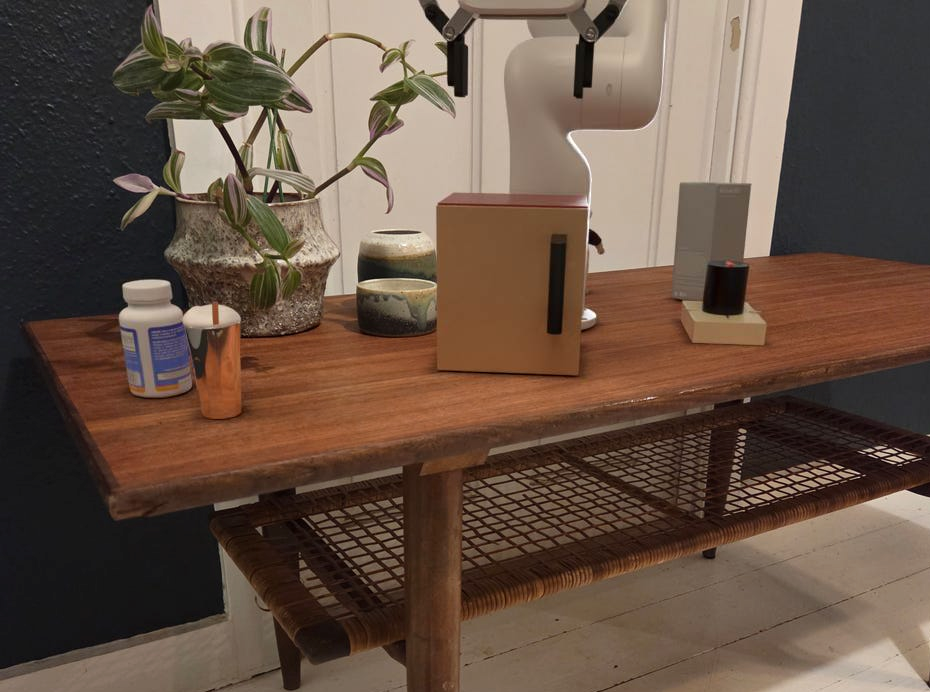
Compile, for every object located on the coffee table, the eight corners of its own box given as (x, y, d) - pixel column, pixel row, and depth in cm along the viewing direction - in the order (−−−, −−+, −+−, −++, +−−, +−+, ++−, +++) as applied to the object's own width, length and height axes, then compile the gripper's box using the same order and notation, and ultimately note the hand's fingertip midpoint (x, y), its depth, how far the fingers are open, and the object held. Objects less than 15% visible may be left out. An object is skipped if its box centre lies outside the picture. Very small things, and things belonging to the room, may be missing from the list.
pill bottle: (199, 382, 83) (187, 278, 79) (183, 399, 78) (169, 289, 74) (140, 382, 83) (126, 277, 79) (121, 399, 78) (104, 288, 74)
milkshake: (198, 427, 71) (184, 304, 67) (190, 408, 76) (176, 291, 72) (255, 421, 73) (244, 300, 69) (244, 403, 77) (233, 288, 74)
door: (578, 394, 81) (589, 216, 75) (427, 387, 82) (425, 212, 76) (578, 373, 87) (587, 208, 81) (438, 368, 88) (437, 204, 82)
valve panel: (676, 320, 111) (678, 299, 110) (748, 322, 110) (751, 301, 109) (687, 342, 100) (690, 319, 99) (768, 345, 99) (771, 322, 98)
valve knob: (699, 306, 107) (704, 257, 104) (739, 307, 106) (745, 258, 104) (704, 314, 102) (710, 263, 100) (746, 315, 102) (753, 264, 100)
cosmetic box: (707, 306, 119) (721, 183, 113) (665, 298, 124) (676, 180, 118) (742, 299, 125) (757, 181, 119) (700, 291, 130) (713, 178, 123)
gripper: (641, -142, 68) (624, 100, 74) (421, -138, 70) (423, 97, 76) (646, -172, 61) (627, 97, 68) (401, -166, 63) (405, 95, 69)
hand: (519, 97), depth 72 cm, fingers open, 9 cm apart
